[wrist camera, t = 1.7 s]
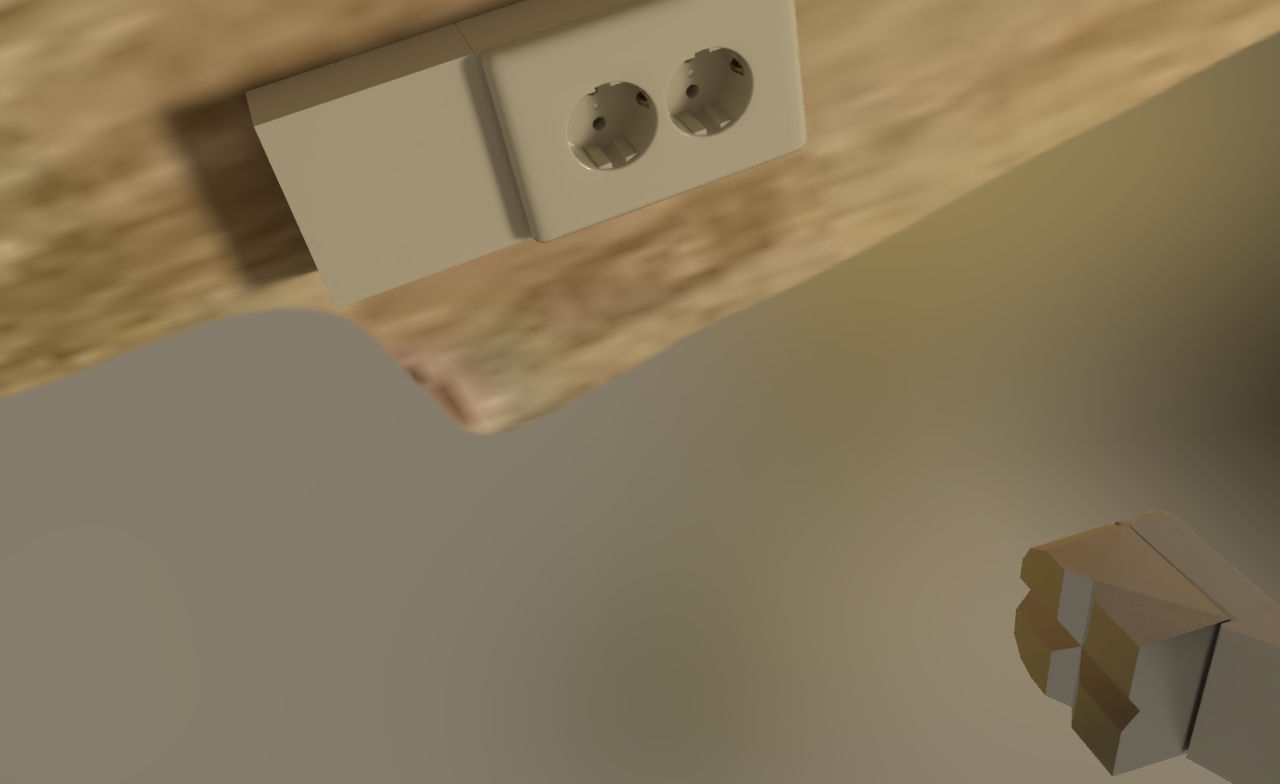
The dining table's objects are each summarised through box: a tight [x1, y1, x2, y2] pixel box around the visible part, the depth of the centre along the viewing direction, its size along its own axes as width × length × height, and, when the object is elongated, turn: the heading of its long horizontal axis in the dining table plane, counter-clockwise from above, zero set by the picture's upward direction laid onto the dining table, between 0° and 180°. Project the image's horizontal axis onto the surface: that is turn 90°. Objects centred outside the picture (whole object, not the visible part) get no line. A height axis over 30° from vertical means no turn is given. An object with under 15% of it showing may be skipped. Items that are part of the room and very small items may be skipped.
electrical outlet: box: [245, 0, 807, 309], centre depth 40 cm, size 7×4×18 cm
